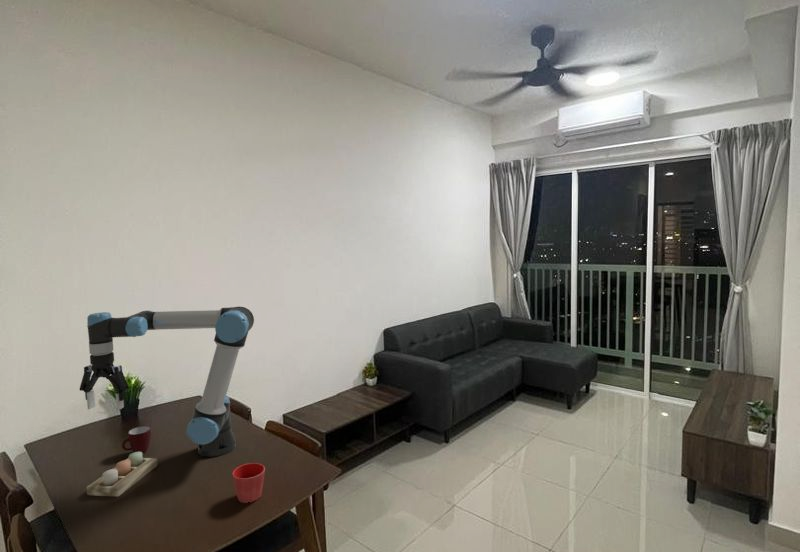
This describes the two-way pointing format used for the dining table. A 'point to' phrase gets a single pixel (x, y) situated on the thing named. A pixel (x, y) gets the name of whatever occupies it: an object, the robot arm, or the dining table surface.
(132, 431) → the mug
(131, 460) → the button sage
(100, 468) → the dining table surface
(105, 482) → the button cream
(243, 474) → the flower pot
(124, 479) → the button board
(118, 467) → the button terracotta
